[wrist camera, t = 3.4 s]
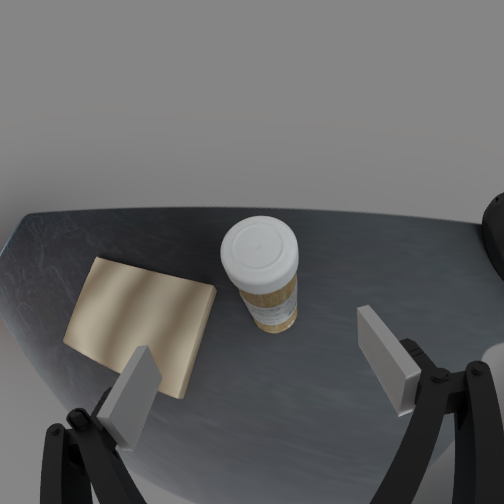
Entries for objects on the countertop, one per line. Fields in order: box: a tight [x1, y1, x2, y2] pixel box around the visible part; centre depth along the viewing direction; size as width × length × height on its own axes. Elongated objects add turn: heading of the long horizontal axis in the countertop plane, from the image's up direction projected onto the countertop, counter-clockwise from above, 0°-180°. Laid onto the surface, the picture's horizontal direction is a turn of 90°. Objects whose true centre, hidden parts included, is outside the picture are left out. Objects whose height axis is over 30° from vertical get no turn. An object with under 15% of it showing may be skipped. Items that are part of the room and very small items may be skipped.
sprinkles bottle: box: [221, 216, 298, 333], centre depth 22 cm, size 5×5×13 cm
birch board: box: [63, 257, 217, 399], centre depth 29 cm, size 17×12×2 cm
